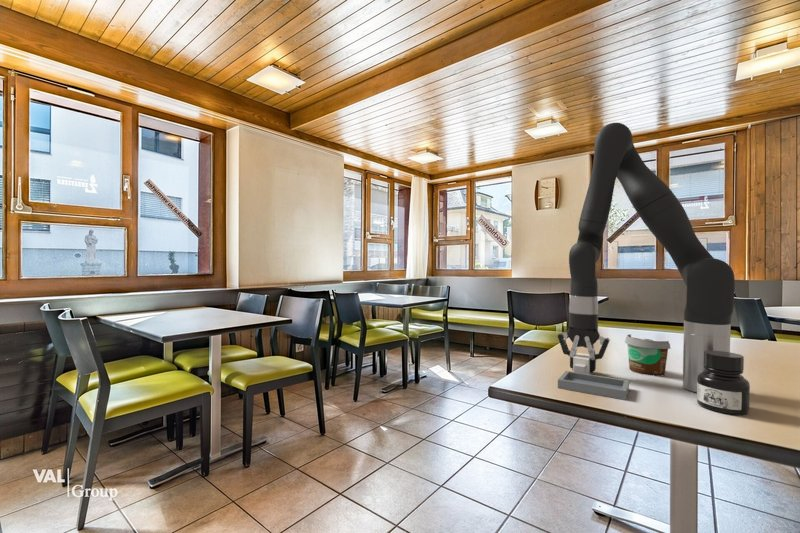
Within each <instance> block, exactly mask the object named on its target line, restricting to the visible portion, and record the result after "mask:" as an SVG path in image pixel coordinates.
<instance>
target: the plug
mask: <svg viewBox="0 0 800 533" xmlns="http://www.w3.org/2000/svg"><path fill="white" fill-rule="evenodd" d="M572 372H577V373H584V374H590V375H592V373H590V355H589V353H582V352H578V353H577V352H576V355H575V356H574V357H573V370H572Z"/></svg>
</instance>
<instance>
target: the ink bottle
mask: <svg viewBox="0 0 800 533" xmlns="http://www.w3.org/2000/svg"><path fill="white" fill-rule="evenodd" d="M744 361H745V356H744V355H741V354H739V353H736V352H731V351H730V352H724V351H704V368H705V369H706V370H704V371H703V372H701V373H700V374H699V375H698V380H697V392H696V402H697V404H698V405H699V406H701V407H703V408H705V409H708V410H711V411H714V412H719V413H722V414H727V415H736V416H737V415H746V414H748V413H749V412H750V400H751V399H750V395H751V394H750V393H751V391H750V390H751V385H750V381H749V380H747V379H746V378H745V377H744V376H743V375H742V374H743V373H744V366H745V365H744V363H745V362H744Z"/></svg>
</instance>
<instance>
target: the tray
mask: <svg viewBox="0 0 800 533" xmlns="http://www.w3.org/2000/svg"><path fill="white" fill-rule="evenodd" d="M557 389H562V390H568V391H573V392H578V393H585V394H590V395H595V396H601V397H606V398H613V399H618V400H623V401H626V400H627V398H628V394H629V390H630V380H629V379H628V380H627V379H622V378H616V377H609V376H602V375H595V374H584V373H577V372H573V371H570V370H565V371H564V372H563V374H561V375H560V377H559V378H558V379H557Z"/></svg>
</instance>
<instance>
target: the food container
mask: <svg viewBox="0 0 800 533" xmlns="http://www.w3.org/2000/svg"><path fill="white" fill-rule="evenodd" d="M624 343H625V344H627V354H628V365H629V366H628V367H629V371H631V372H633V373H636V374H640V375H646V376H653V375H654V377H656V376H657V377H658V376H659V377H662V375H663V376H665V375H666V366H667V361H668V354H669V350H670V349H672V348H671V343H670V341H669V340H666V341H665V340H664V341H661V340H660V341H659V340H657V341H656V340H652V339H649V338H637V337H632V334H631V333H629V334H626V336H625V340H624Z"/></svg>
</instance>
